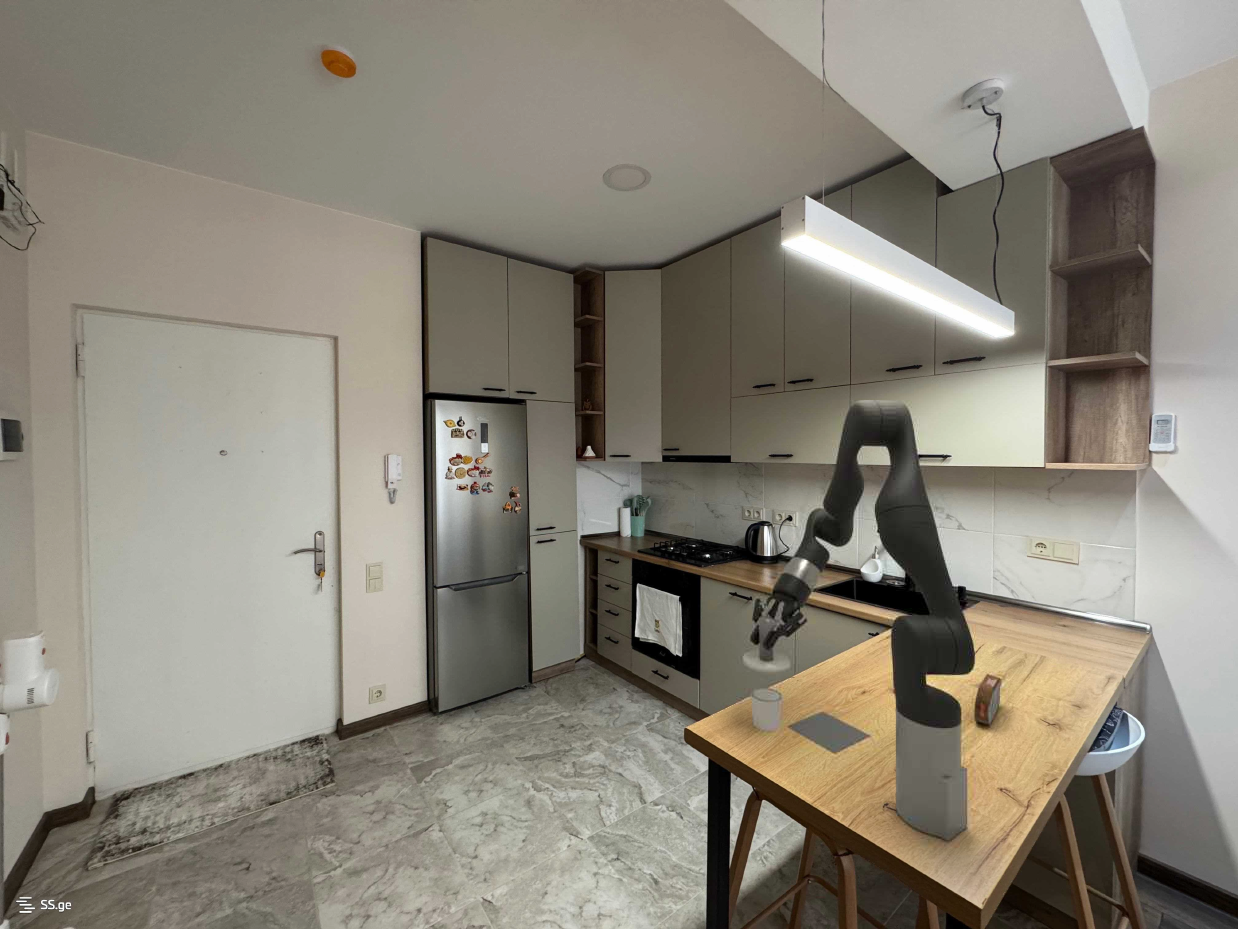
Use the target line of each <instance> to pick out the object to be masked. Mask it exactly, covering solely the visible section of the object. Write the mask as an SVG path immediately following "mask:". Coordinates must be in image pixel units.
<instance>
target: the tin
mask: <svg viewBox="0 0 1238 929" xmlns="http://www.w3.org/2000/svg"><path fill="white" fill-rule="evenodd" d="M1001 686H1002V678H1001V677H998V676H996V675H995V676H994V675H992V674H989V673H986V675H985V676H984V677H983V679H982V680H981V682H980V683H979V685H978V687H977V692H976V696H975V702H974V709H973V710H974V711H973V712H974V713H973V714H974V715H973V716H974V721H975V722H978V723H982V724H985V725H989V726H990V725H991V723H992V722H993V720H994V718H995V717H996V715H997V713H998V710H999V707H1000V706H999V705H1000V702H1001V701H1000V700H1001V696H1000V695H1001Z"/></svg>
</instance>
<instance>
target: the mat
mask: <svg viewBox="0 0 1238 929" xmlns="http://www.w3.org/2000/svg"><path fill="white" fill-rule="evenodd" d="M786 727H787V728H788V729H790V730H792V731H794V732H795V733H797V734H799V735H801V736H802V737H804V738H806V739H808V740H810V741H812V742H813V743H815V744H817V745H818V746H820V747H821V748H824V749H825V750H827V751H829V752H830V753H833V754H838V753H839V752H842V751H844V750H845V749H848V748H850V747H852V746H854V745H856V744H858V743H861V741H863V740H866V739H868V738H870V737H871V736H872V735H870V734H869V733H866V732H864V731H862V730H860V729H859V728H857V727H854V726H852V725H850V724H848V723H846V722H845V721H842V720H841V719H838V718H837V717H834V715H833V716H832V715H831V714H828V713H826V712H824V711H823V710H821V711H820V712H818V713H815V714H813V715H810V716H808V717H806V718H803V719H801V720H799V721H797V722H796V721H795V722H794V723H791V724H789V725H787V726H786Z"/></svg>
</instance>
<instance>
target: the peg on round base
mask: <svg viewBox="0 0 1238 929" xmlns="http://www.w3.org/2000/svg"><path fill="white" fill-rule="evenodd" d="M768 616H769V615H768ZM768 616H761V617H759V644H758V648H759V649H755V650H750V651H747V652H745V653H744V654H743V656H742V663H743V665H744V666H746V668H749V669H750V670H752V671H756V672H759V673H765V674H780V673H784V672H786V671H788V670H789V669H790V668H791V660H790V658H789V657H788V656H787V655H785V654H784V653H781V652H777V651H775V650H774V647H773V648H772V649H770V650H769V651H768V650H766V649H765V648H764V647H763V646H762V644H763V642H764V640H765V638H766V637H767V635H768V633H769V632H770V631H772V627H773V625H774V623H773V618H771V617H770V616H769V617H768Z"/></svg>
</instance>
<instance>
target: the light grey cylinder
mask: <svg viewBox="0 0 1238 929" xmlns="http://www.w3.org/2000/svg"><path fill="white" fill-rule="evenodd" d="M750 703H751V712H752V713H751V714H752V721H753V722H752V723H753V725H754V726H755V728H758V730H761V731H763V732H765V731H766V732H775V731H779V729H780V727H781V719H782V718H781V717H782V706H783V694H781V692H779V691H778V690H777V689H773V688H769V687H756V688H753V689H752V690H751V691H750Z"/></svg>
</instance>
